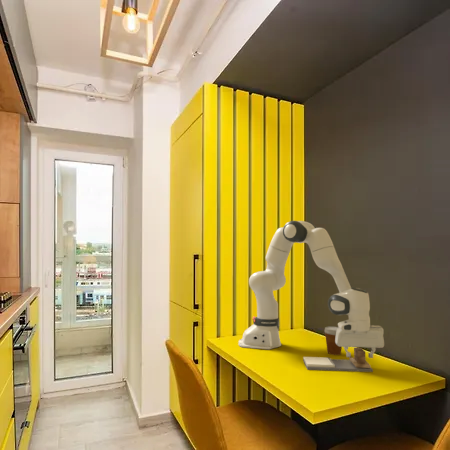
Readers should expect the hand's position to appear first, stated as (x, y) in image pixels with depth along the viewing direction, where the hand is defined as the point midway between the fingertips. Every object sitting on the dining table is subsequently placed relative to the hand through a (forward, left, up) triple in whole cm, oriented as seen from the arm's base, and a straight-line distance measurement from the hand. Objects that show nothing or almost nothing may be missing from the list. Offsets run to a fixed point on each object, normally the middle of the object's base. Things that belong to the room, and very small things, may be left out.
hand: (359, 357), depth 155 cm
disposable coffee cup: (-7, +19, -4) cm, 21 cm away
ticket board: (-10, 0, -4) cm, 11 cm away
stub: (0, 0, -3) cm, 3 cm away
